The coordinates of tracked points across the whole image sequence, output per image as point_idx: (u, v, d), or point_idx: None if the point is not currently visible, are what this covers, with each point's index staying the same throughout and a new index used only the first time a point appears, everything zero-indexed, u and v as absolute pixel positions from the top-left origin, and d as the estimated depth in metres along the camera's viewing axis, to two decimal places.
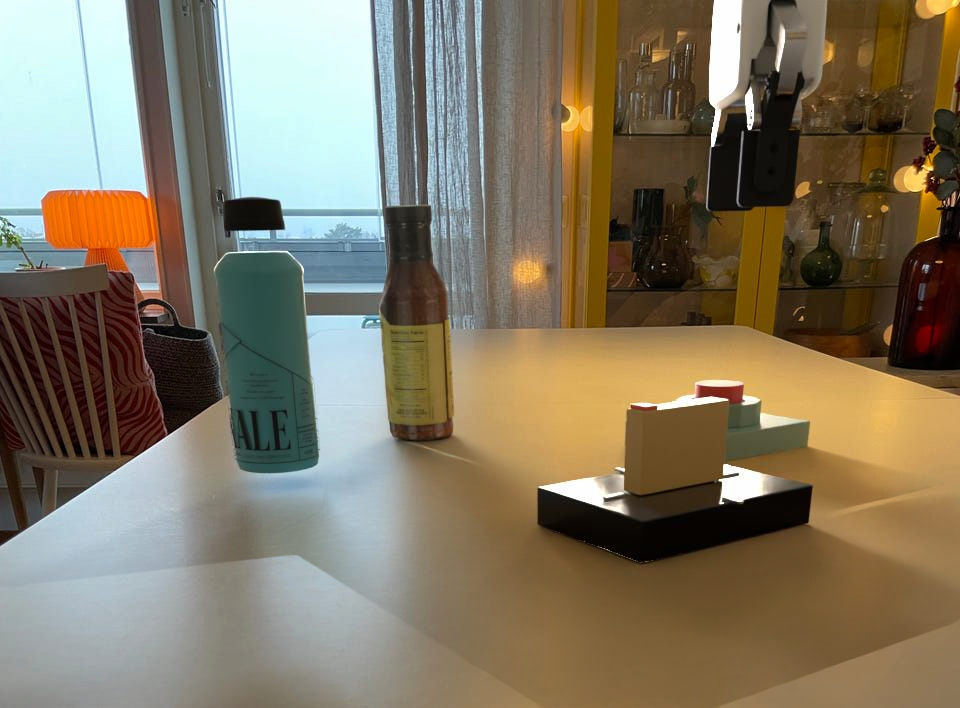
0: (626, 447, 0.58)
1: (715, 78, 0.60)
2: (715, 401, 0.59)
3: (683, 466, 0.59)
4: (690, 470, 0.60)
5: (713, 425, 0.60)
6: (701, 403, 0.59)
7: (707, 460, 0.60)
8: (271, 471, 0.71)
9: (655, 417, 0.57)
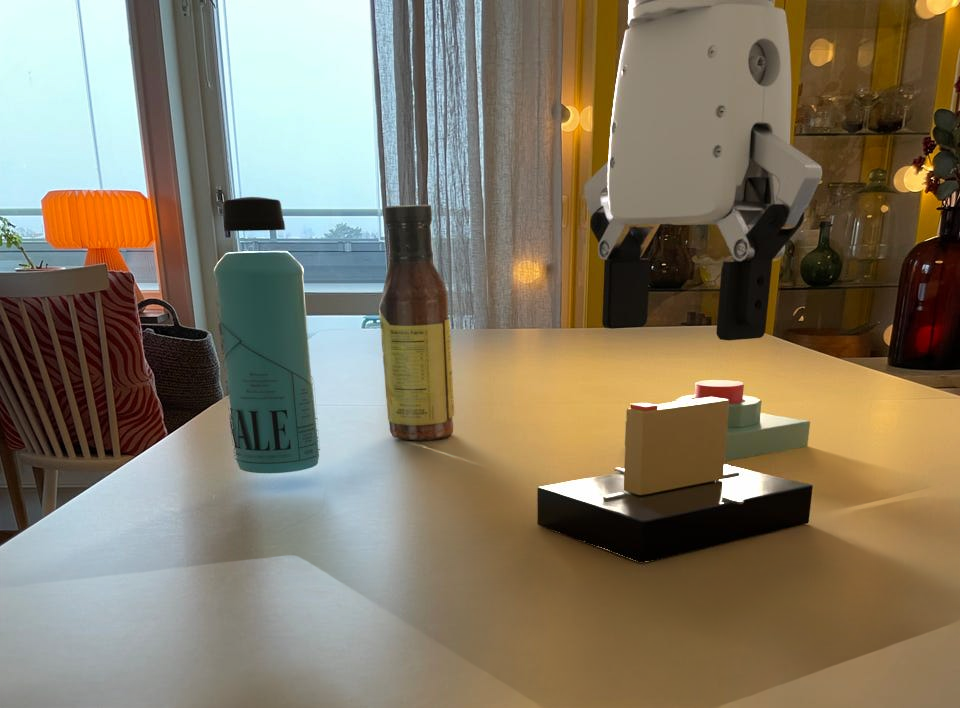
0: (626, 447, 0.58)
1: (640, 193, 0.54)
2: (715, 401, 0.59)
3: (683, 466, 0.59)
4: (690, 470, 0.60)
5: (713, 425, 0.60)
6: (701, 403, 0.59)
7: (707, 460, 0.60)
8: (271, 471, 0.71)
9: (655, 417, 0.57)
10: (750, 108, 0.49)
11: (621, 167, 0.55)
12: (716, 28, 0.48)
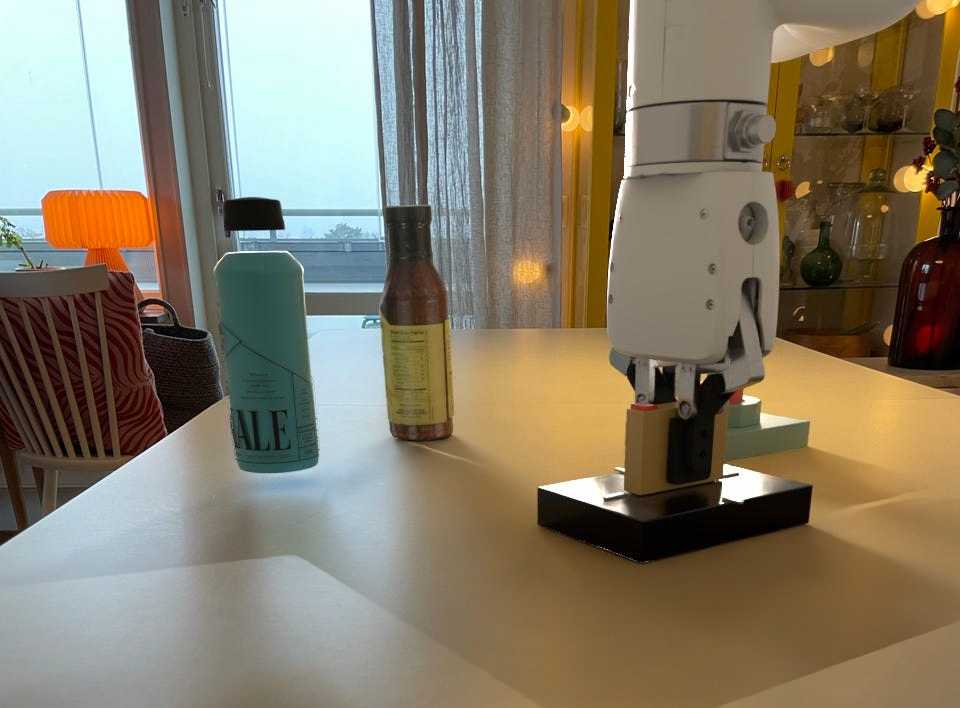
0: (626, 447, 0.58)
1: (638, 331, 0.57)
2: None
3: None
4: None
5: None
6: None
7: None
8: (271, 471, 0.71)
9: (655, 417, 0.57)
10: (740, 265, 0.51)
11: (619, 305, 0.58)
12: (707, 193, 0.51)
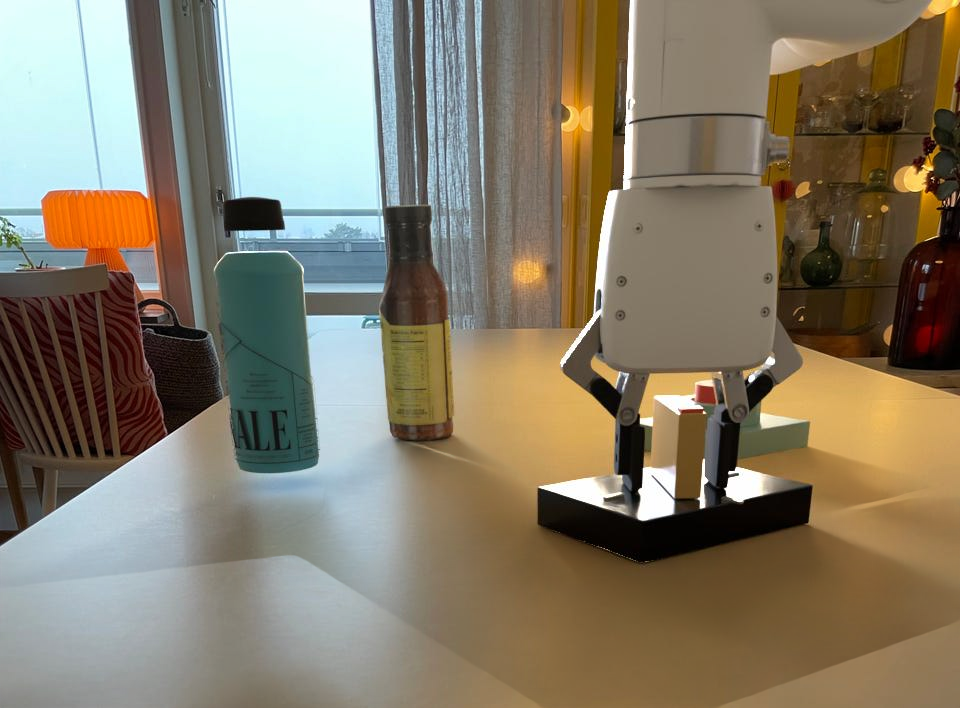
0: (679, 454, 0.56)
1: (665, 345, 0.55)
2: (680, 397, 0.61)
3: None
4: None
5: None
6: (685, 400, 0.60)
7: None
8: (271, 471, 0.71)
9: None
10: None
11: (636, 320, 0.55)
12: (762, 205, 0.53)
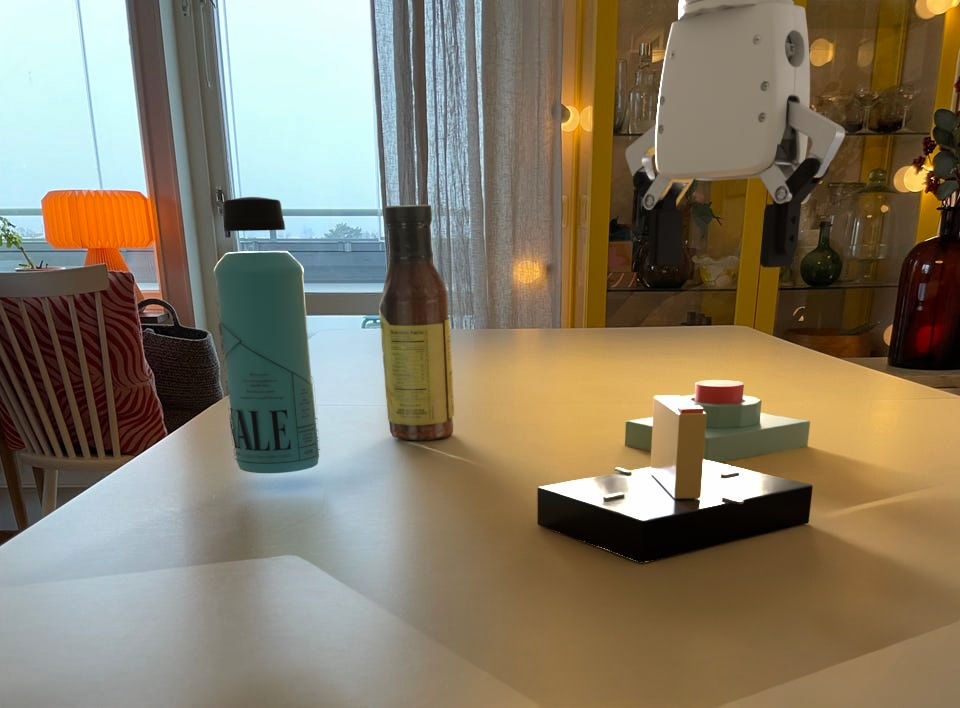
0: (679, 454, 0.56)
1: (689, 153, 0.68)
2: (680, 397, 0.61)
3: None
4: None
5: None
6: (685, 400, 0.60)
7: None
8: (271, 471, 0.71)
9: None
10: (786, 84, 0.63)
11: (670, 132, 0.69)
12: (760, 21, 0.62)
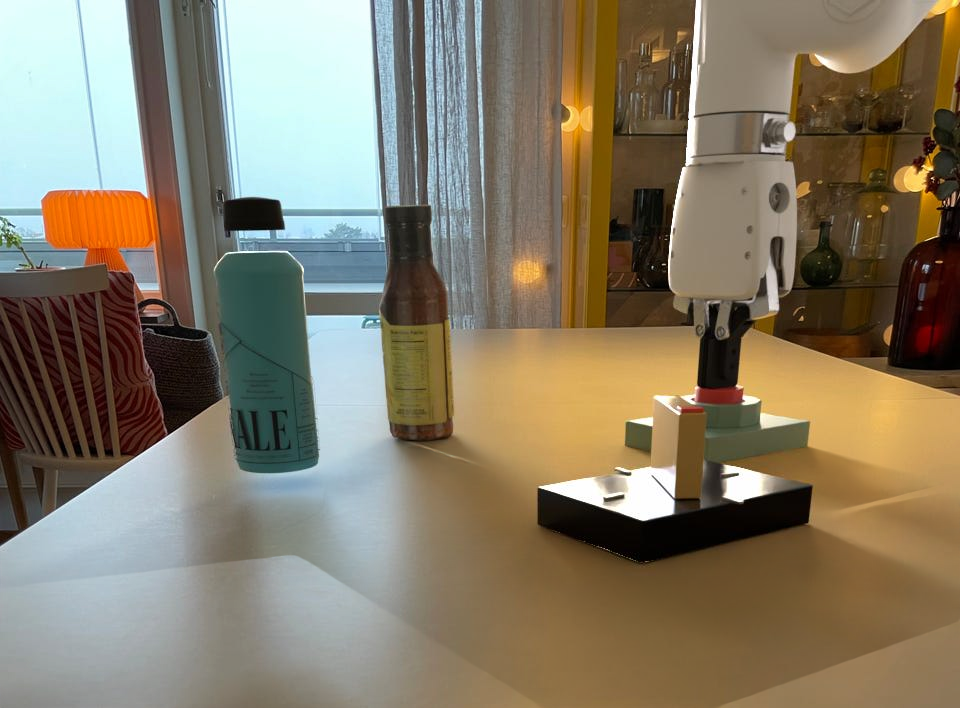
0: (679, 454, 0.56)
1: (693, 277, 0.79)
2: (680, 397, 0.61)
3: None
4: None
5: None
6: (685, 400, 0.60)
7: None
8: (271, 471, 0.71)
9: None
10: (770, 227, 0.73)
11: (679, 258, 0.80)
12: (747, 176, 0.72)
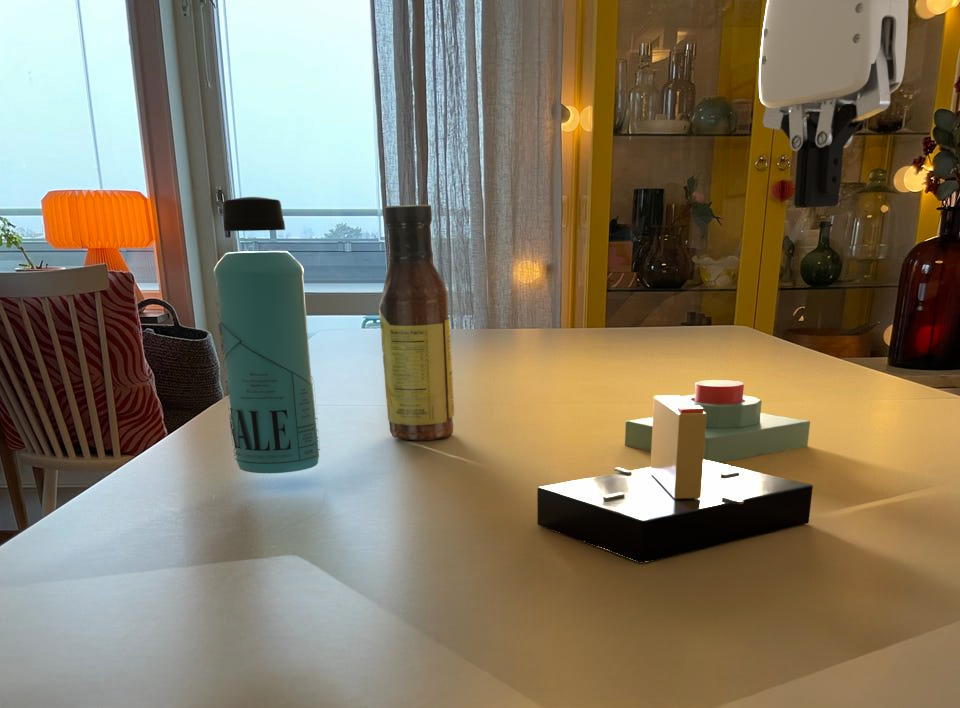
0: (679, 454, 0.56)
1: (789, 80, 0.72)
2: (680, 397, 0.61)
3: None
4: None
5: None
6: (685, 400, 0.60)
7: None
8: (271, 471, 0.71)
9: None
10: (881, 4, 0.66)
11: (772, 62, 0.73)
12: None
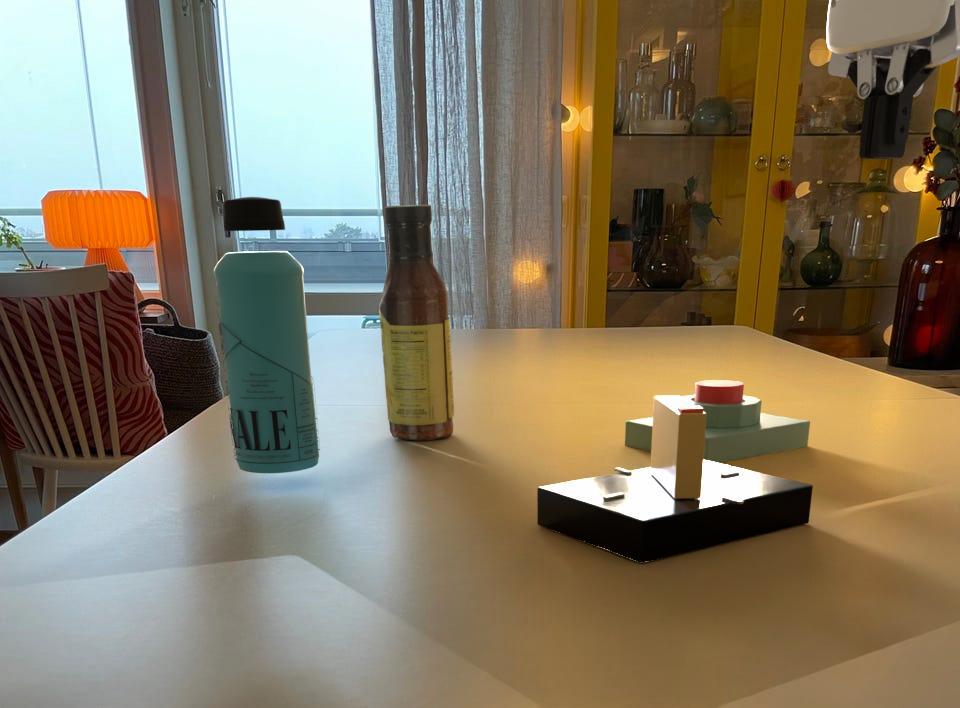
0: (679, 454, 0.56)
1: (860, 23, 0.69)
2: (680, 397, 0.61)
3: None
4: None
5: None
6: (685, 400, 0.60)
7: None
8: (271, 471, 0.71)
9: None
10: None
11: (843, 5, 0.70)
12: None
